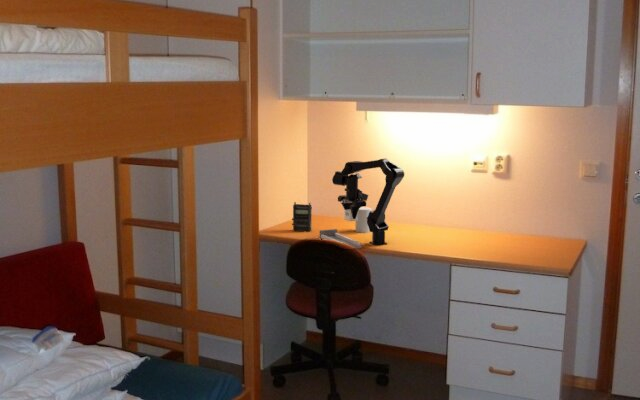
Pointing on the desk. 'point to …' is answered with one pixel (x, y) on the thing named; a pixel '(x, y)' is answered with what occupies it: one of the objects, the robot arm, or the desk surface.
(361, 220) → the cup
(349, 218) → the block
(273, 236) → the desk surface
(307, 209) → the geiger counter
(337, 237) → the rail board
